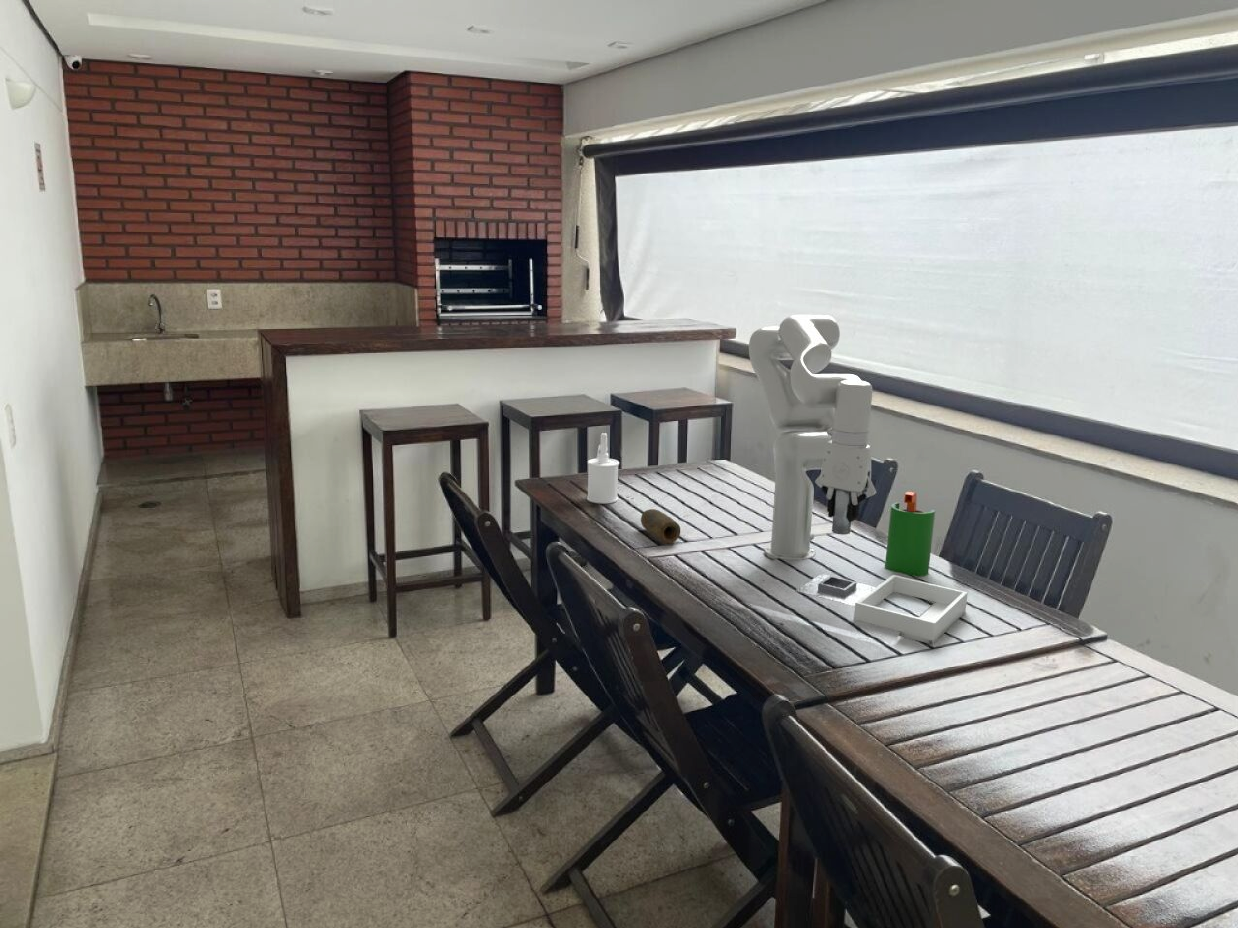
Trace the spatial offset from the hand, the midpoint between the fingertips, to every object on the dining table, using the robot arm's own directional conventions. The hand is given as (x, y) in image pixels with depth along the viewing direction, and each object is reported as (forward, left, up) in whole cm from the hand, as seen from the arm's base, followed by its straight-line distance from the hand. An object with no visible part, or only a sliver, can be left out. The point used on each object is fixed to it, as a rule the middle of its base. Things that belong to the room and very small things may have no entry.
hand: (842, 517), depth 214 cm
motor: (-25, +7, -18) cm, 31 cm away
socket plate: (0, 0, -18) cm, 18 cm away
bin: (+3, +18, -18) cm, 26 cm away
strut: (0, 0, -3) cm, 3 cm away
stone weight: (-8, -53, -18) cm, 56 cm away
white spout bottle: (-27, -86, -18) cm, 92 cm away
